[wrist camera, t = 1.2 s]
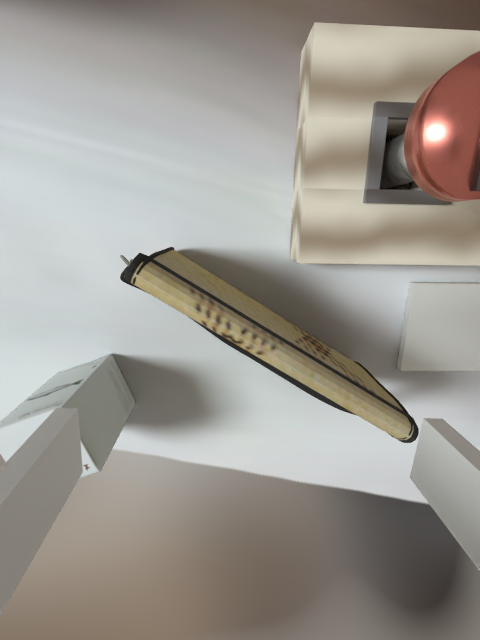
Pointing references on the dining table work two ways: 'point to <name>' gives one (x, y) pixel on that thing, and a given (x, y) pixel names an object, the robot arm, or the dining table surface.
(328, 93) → the block
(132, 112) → the dining table surface
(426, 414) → the dining table surface
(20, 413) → the supplement box
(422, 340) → the rubber mat
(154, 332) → the dining table surface
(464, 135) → the screw pin
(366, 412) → the clutch purse
